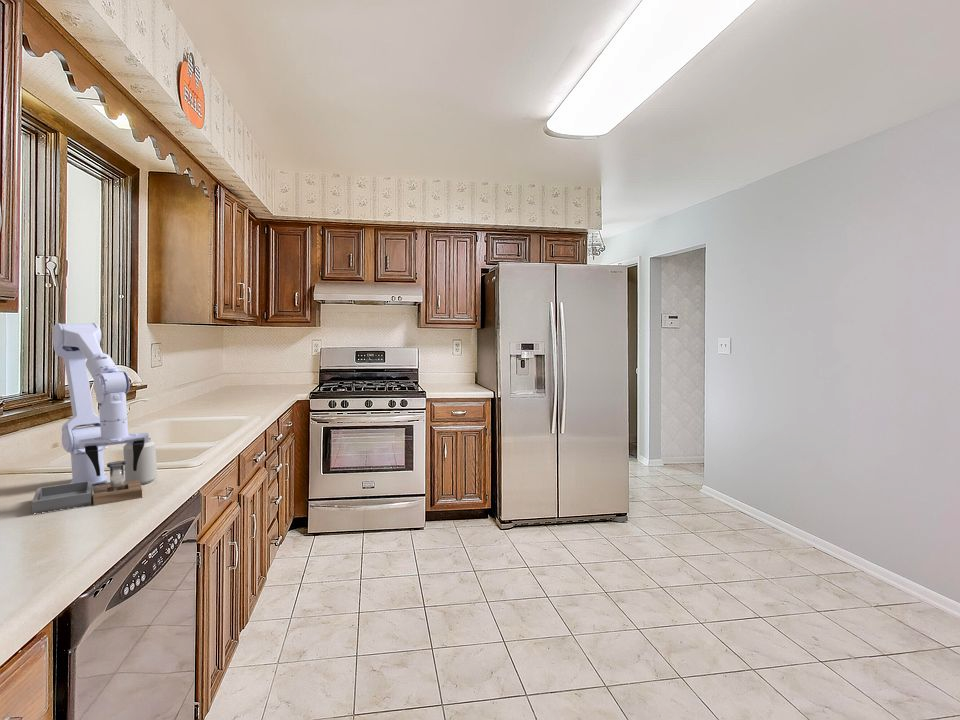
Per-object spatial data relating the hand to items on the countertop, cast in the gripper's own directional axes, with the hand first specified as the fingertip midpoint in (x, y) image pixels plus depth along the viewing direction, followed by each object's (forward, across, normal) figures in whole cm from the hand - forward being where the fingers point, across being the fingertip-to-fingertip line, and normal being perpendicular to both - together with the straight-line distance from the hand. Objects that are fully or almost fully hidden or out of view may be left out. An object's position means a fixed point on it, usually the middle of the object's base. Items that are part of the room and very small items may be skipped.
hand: (117, 472), depth 137 cm
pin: (+6, 0, 0) cm, 6 cm away
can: (+6, +6, +11) cm, 14 cm away
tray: (+6, -11, +2) cm, 13 cm away
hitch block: (+6, 0, 0) cm, 6 cm away
